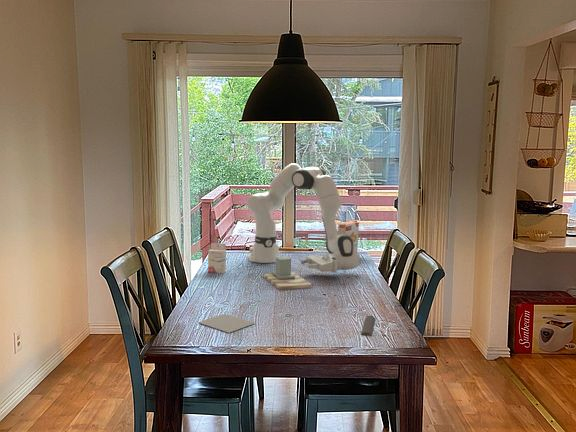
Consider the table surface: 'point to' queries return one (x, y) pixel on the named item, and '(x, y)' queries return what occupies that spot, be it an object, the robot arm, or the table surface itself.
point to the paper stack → (226, 323)
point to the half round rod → (368, 326)
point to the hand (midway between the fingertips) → (304, 264)
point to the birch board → (287, 282)
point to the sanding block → (283, 268)
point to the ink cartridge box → (217, 258)
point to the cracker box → (350, 231)
